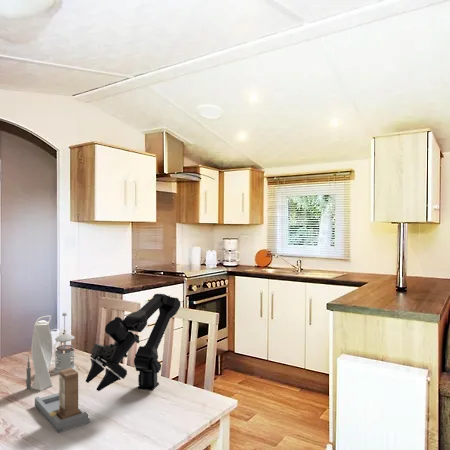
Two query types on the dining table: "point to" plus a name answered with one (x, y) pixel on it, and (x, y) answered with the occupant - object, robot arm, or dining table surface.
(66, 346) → the french press
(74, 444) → the dining table surface
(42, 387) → the skyscraper
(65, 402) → the wooden block
